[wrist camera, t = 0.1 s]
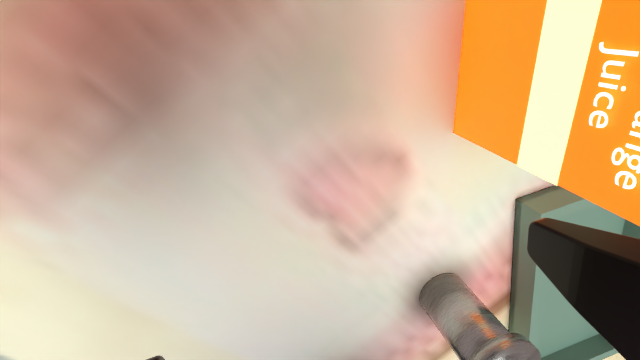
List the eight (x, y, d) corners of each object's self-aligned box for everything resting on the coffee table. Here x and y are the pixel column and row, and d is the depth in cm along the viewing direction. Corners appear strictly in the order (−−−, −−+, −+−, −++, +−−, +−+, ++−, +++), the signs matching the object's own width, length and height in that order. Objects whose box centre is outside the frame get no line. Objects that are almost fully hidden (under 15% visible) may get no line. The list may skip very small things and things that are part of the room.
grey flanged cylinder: (468, 303, 32) (538, 383, 25) (415, 323, 32) (472, 411, 25) (467, 259, 30) (543, 334, 23) (410, 279, 29) (471, 363, 22)
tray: (600, 332, 40) (622, 350, 38) (506, 371, 39) (523, 393, 36) (640, 156, 30) (673, 167, 28) (516, 199, 29) (540, 214, 26)
